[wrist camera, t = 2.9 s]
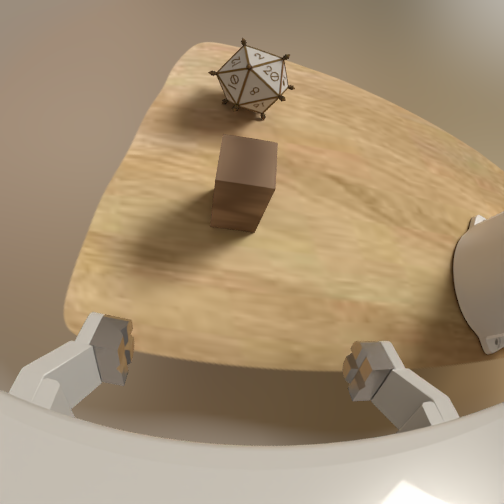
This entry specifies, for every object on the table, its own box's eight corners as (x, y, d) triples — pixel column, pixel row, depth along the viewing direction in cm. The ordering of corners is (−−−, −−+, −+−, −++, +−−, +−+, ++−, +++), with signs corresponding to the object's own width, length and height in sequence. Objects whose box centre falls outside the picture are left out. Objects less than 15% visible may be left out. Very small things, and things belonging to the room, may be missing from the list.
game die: (256, 119, 36) (320, 79, 30) (233, 147, 31) (311, 98, 24) (212, 69, 33) (272, 21, 26) (178, 86, 27) (249, 24, 21)
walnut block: (257, 193, 29) (277, 142, 21) (254, 232, 27) (275, 188, 20) (215, 187, 28) (223, 134, 21) (210, 226, 27) (215, 179, 19)
